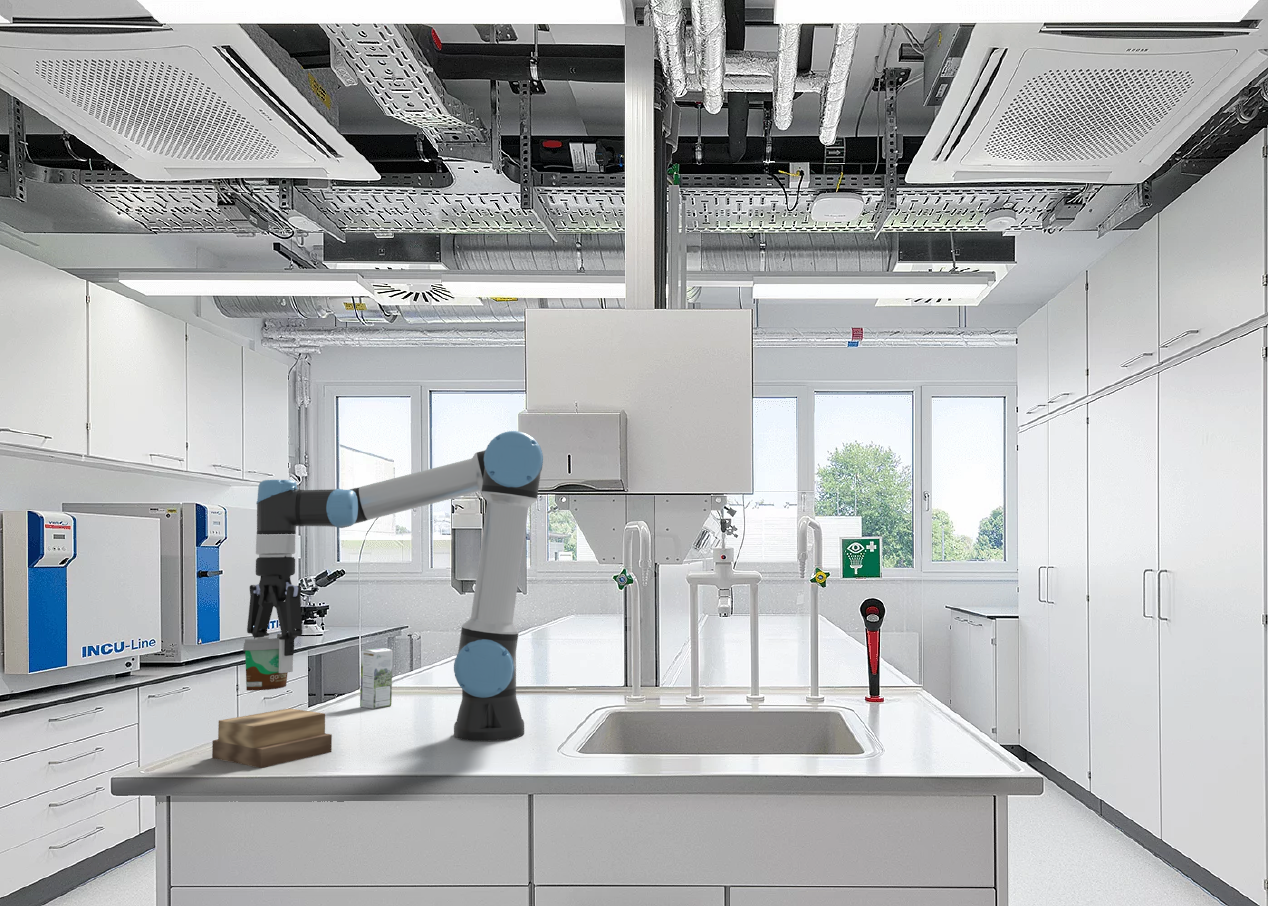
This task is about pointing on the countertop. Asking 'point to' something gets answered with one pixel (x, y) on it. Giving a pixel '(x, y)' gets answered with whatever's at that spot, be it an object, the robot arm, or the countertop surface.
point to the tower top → (271, 727)
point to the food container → (263, 664)
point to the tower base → (273, 751)
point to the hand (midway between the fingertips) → (273, 670)
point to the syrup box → (376, 678)
